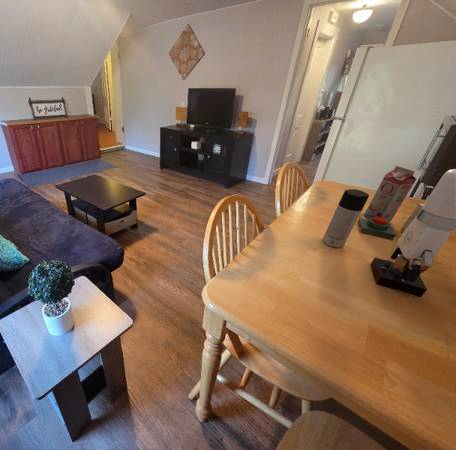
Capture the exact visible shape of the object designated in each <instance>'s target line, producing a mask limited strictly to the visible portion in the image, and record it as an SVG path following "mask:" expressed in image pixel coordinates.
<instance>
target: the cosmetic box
mask: <svg viewBox="0 0 456 450" xmlns="http://www.w3.org/2000/svg"><path fill="white" fill-rule="evenodd" d="M423 205H424V203H418V204H417V205H416V207H415V208H414V209H413V211H412V212H411V214H410V215H409V216H408V218H407V219H406V221H405V222H404V223H403V225H402V227H401V228H400V231H401V233H403V232H404V231H405V229H406V228H407V227H408V226H409V224H410V223H411V222H412V221H413V220H414V219H415V217H416V215H417V214H418V212H419V211H420V209H421V208H422V206H423Z"/></svg>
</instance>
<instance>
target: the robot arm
mask: <svg viewBox="0 0 456 450" xmlns="http://www.w3.org/2000/svg"><path fill="white" fill-rule="evenodd" d="M423 204H424V205H423V206H422V208H421V209H420V211H419V212H418V214H417V215H416V217H415V219H414V220H413V221H412V222H411V223H410V224H409V226H408V227H407V228H406V229H405V231H404V232H401V233H402V234H401V235H400V236H399V237H398V239H397V247H396V248H395V250H394V251H393V253H392V254H391V256H390V259H391V260H394V261H395V259H396V258H397V257H398V255H399V254H403V255H404V257H405V258H406V259H410V262H409V266H408V267H405V269H404V270H403V272H402V273H401V274H400V276H399V278H400V279H403V280H407V281H410V282H415V280H416V279H417V278H418V277H419V275H420V276H421V274H422V273H424V272H426V271H427V270H428V269H430V268H431V267H432V266H433V260H434V259H435V257H436V256H438V254H439V252H440V251H441V249H442V248H443V247H444V245H445V244H446V242H447V240H448V238H449V236H450V234H451V233H452V232H455V231H456V168H453V169H448V170H447V171H446V172H445V173H444V174H443V175H442V176H441V178H440V179H439V181H438V182H437V184H436V185H435V187H434V188H433V190H432V191H431V193H430V195H429V196H428V197H427V199H426V200H425V202H424V203H423ZM415 261H416V262H419V264H418V265H414V263H415Z"/></svg>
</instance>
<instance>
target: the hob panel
mask: <svg viewBox="0 0 456 450" xmlns="http://www.w3.org/2000/svg"><path fill="white" fill-rule="evenodd" d="M393 262H394V261H391V260H386V259H383V258H379V257H373V259H372V260H371V262H370V264H369V265H370V268H371V272H372V275H373V279H374V282H375V285H378V286H381V287H385V288H388V289H392V290H395V291H399V292H402V293H405V294H408V295H411V296H416V297H418V298H422V296H423V295H424V294H425V293H426V292H427V290H428V289H427V286H426V285H425V283H424V281H423V279H422V277H421V274H420V275H419V277H418V278H417V279H416V280H415V282H410V281H407V280H403V279H400V278H399V276H398V275H396V274H394V273H392V272H391V271H390V269H389V268H390V267H391V265H392V264H393Z"/></svg>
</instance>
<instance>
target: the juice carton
mask: <svg viewBox="0 0 456 450" xmlns="http://www.w3.org/2000/svg"><path fill="white" fill-rule="evenodd" d="M415 172H416V171H415V170H411V169H408V168H405V167H402V166H398V165H395V167H394V169H392V170H391V171H389V172H387V173H385V174H384V176H383V177H382V180H381V182H380V184H379V186H378V188H377V189H376V192H375V193H374V195H373V197H372V200H370V202H369V205H368V207H367V208H366V209H365V212H364V214H363V216H364V217H367V218H368V219H369V218H375V217H382V218H385V219H386V220H387V222H388V223H390V222H392V220H393V219H394V218H395V215H397V212H398V210H399V209H400V207H401V205H402V204H403V202H404V201H405V199H406V198H407V196H408V195H409V192H410V191H411V189H412V188H413V186H414V185H415V182H416V181H417V178H416V177H415V176H414V174H415Z"/></svg>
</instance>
